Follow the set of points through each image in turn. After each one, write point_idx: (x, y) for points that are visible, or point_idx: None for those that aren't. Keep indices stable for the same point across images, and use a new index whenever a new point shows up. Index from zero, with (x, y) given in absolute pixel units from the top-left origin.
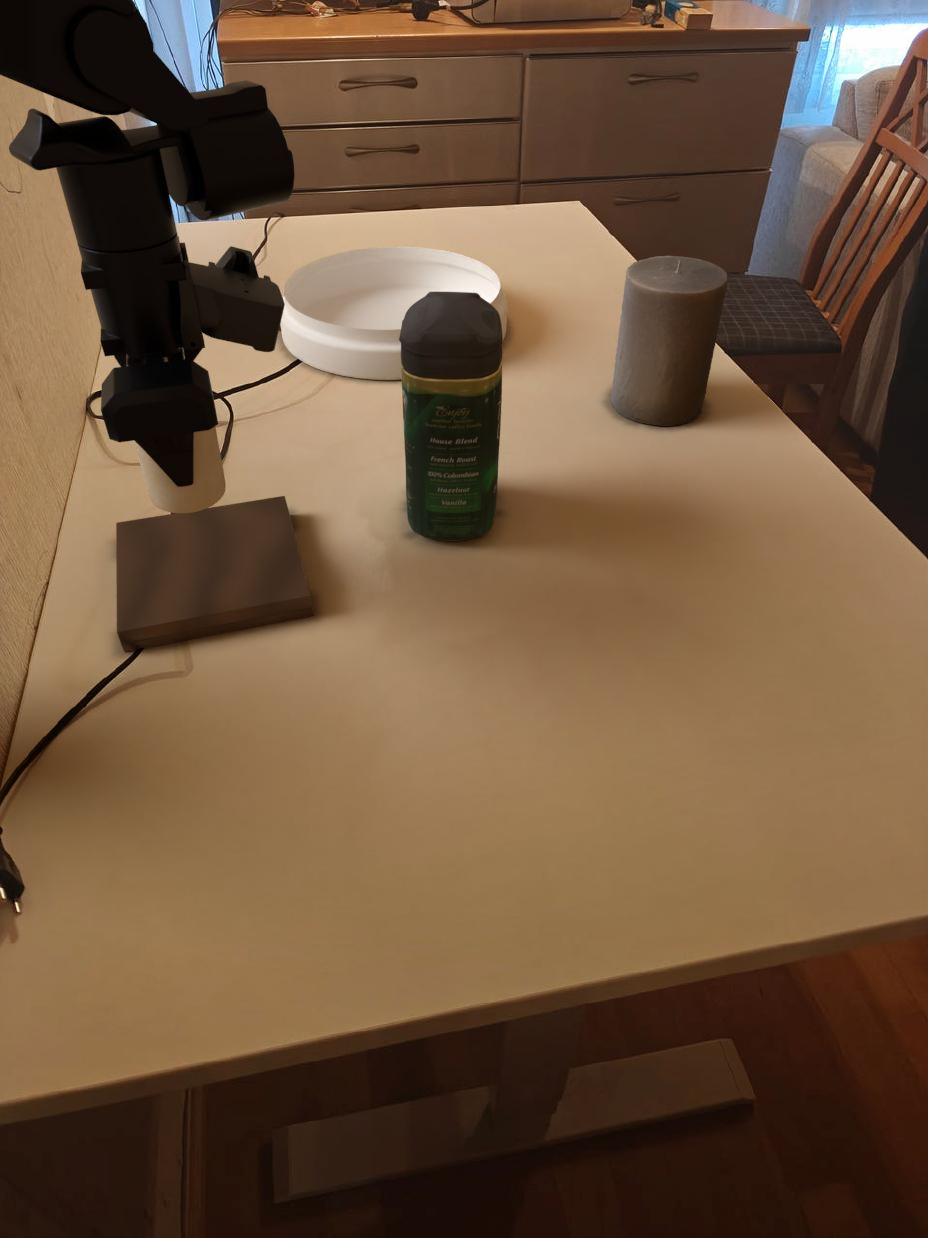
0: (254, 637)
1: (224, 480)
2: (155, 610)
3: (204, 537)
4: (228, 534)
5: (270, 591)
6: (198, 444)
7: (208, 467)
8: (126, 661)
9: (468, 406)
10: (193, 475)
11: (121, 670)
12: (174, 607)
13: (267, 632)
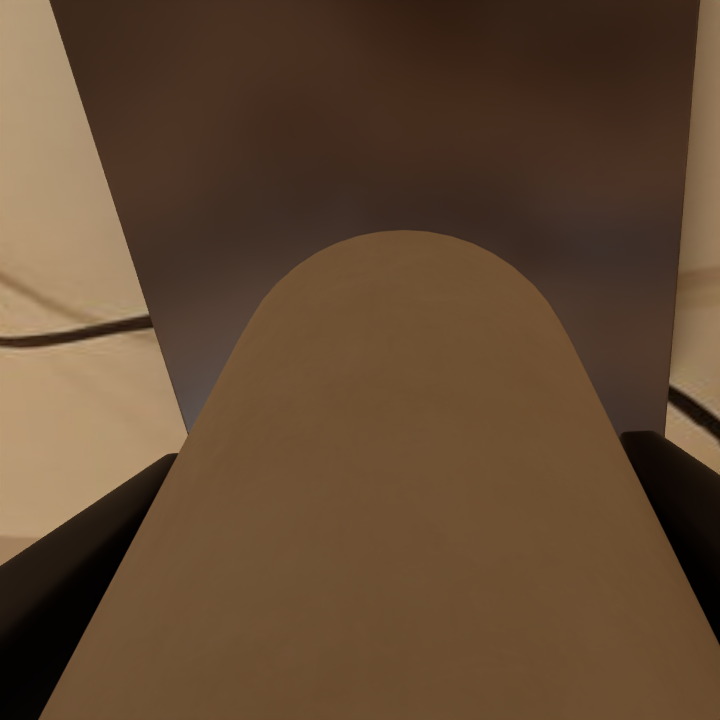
0: (713, 90)
1: (415, 243)
2: (606, 373)
3: (285, 258)
4: (275, 185)
5: (630, 29)
6: (649, 516)
7: (568, 368)
8: (680, 407)
9: None
10: (688, 455)
11: (708, 415)
12: (611, 328)
13: (705, 47)
